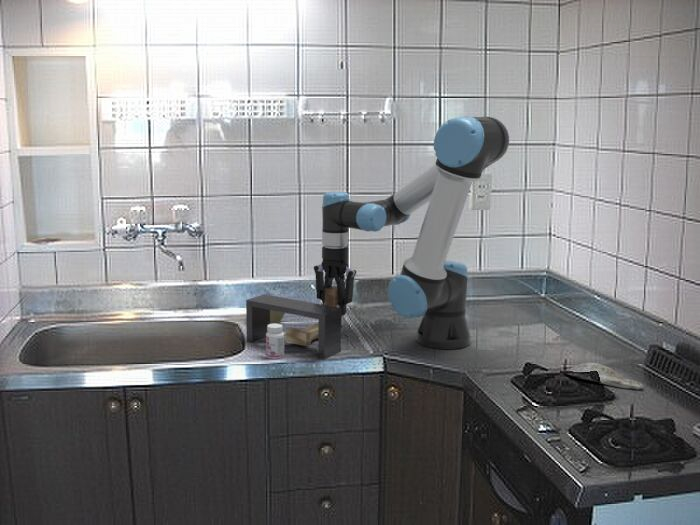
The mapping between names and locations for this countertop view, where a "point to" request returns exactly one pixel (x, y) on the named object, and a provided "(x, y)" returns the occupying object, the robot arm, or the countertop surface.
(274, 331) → the pill bottle
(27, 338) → the countertop surface
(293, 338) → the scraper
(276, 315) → the flower pot
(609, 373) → the stone
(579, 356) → the countertop surface
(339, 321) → the riser shelf
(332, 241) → the robot arm
